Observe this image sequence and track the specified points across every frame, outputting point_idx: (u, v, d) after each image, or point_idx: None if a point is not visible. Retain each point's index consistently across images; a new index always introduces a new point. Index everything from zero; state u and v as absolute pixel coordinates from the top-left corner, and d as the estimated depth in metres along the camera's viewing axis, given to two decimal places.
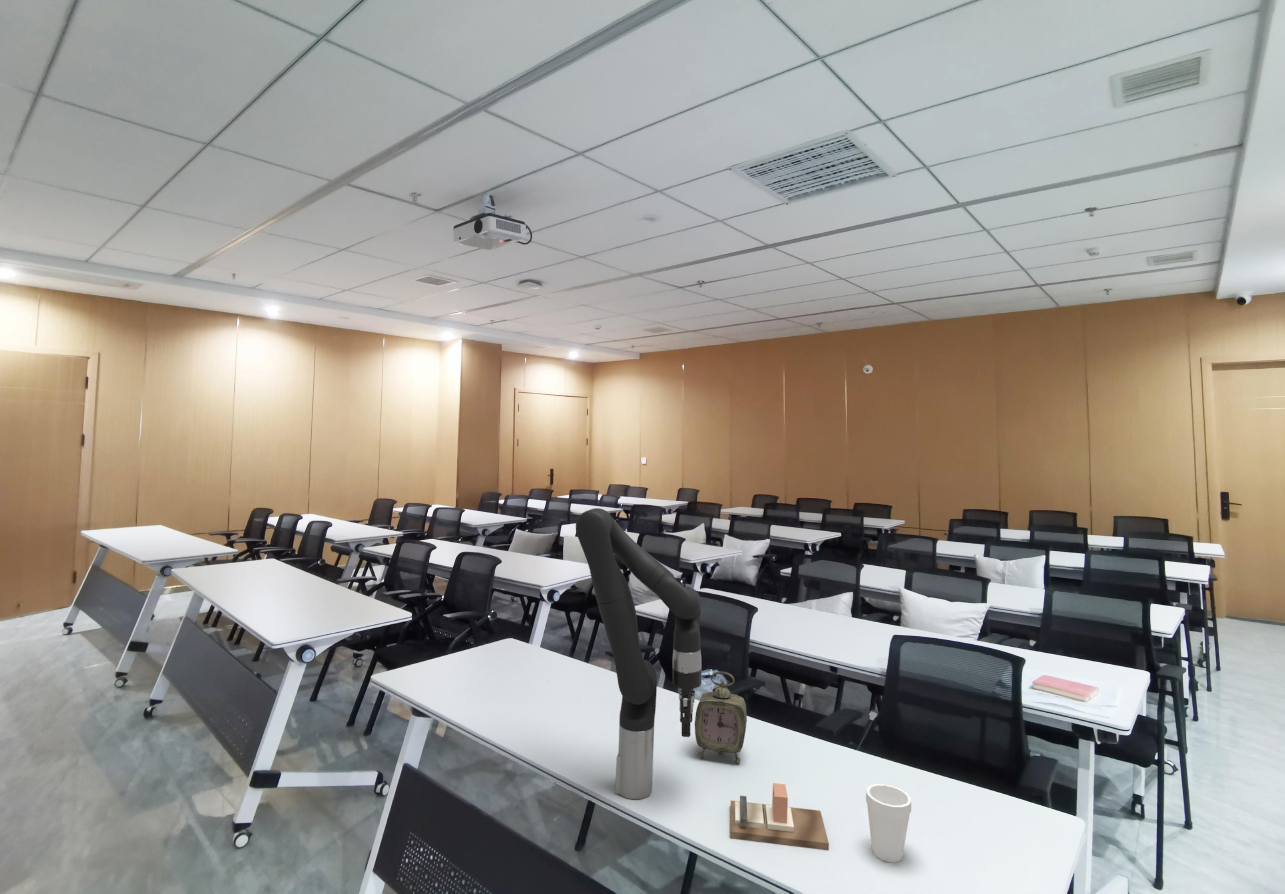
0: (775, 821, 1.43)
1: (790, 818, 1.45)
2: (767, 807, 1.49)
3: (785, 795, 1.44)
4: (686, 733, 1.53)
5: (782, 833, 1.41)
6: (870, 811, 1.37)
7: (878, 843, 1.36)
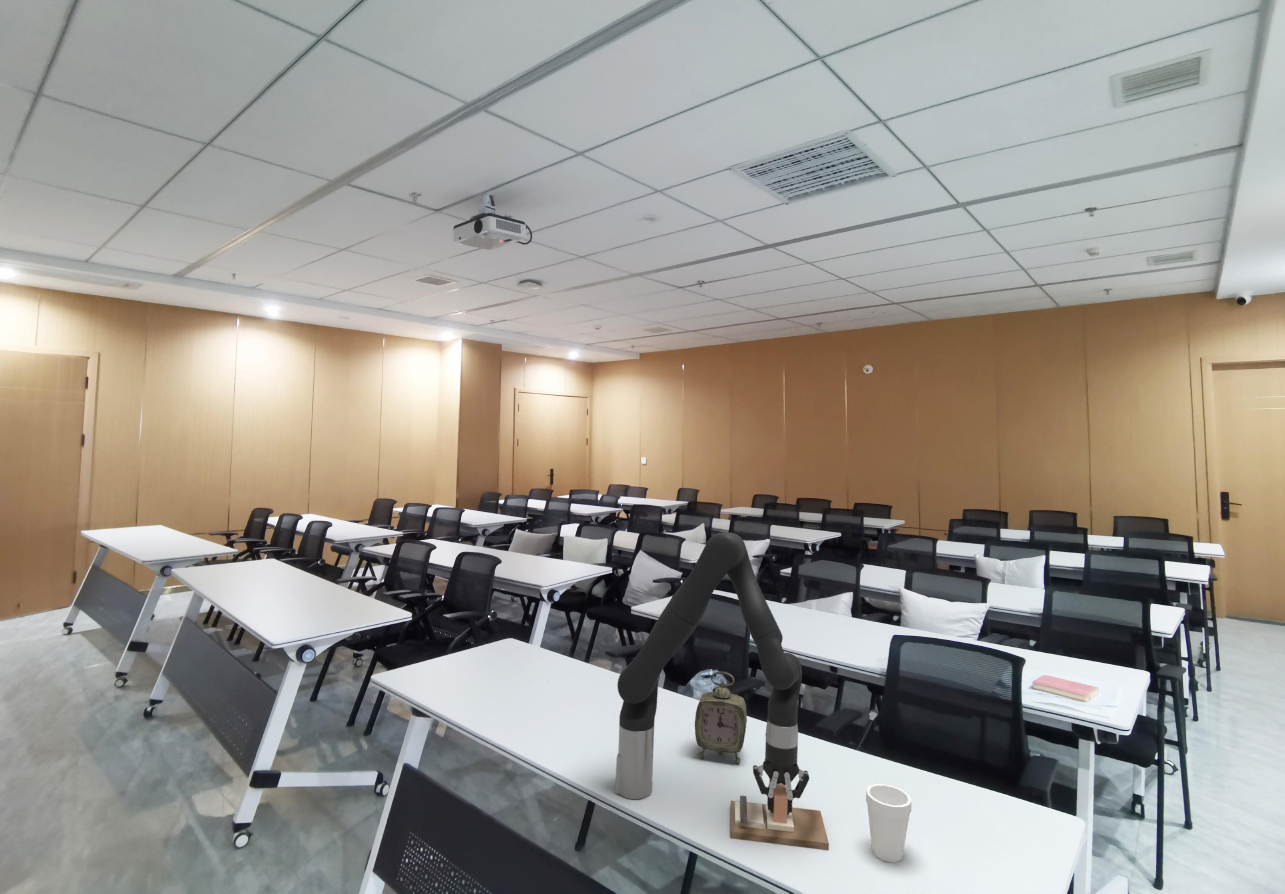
0: (775, 821, 1.43)
1: (790, 818, 1.45)
2: (767, 807, 1.49)
3: (785, 795, 1.44)
4: None
5: (782, 833, 1.41)
6: (870, 811, 1.37)
7: (878, 843, 1.36)
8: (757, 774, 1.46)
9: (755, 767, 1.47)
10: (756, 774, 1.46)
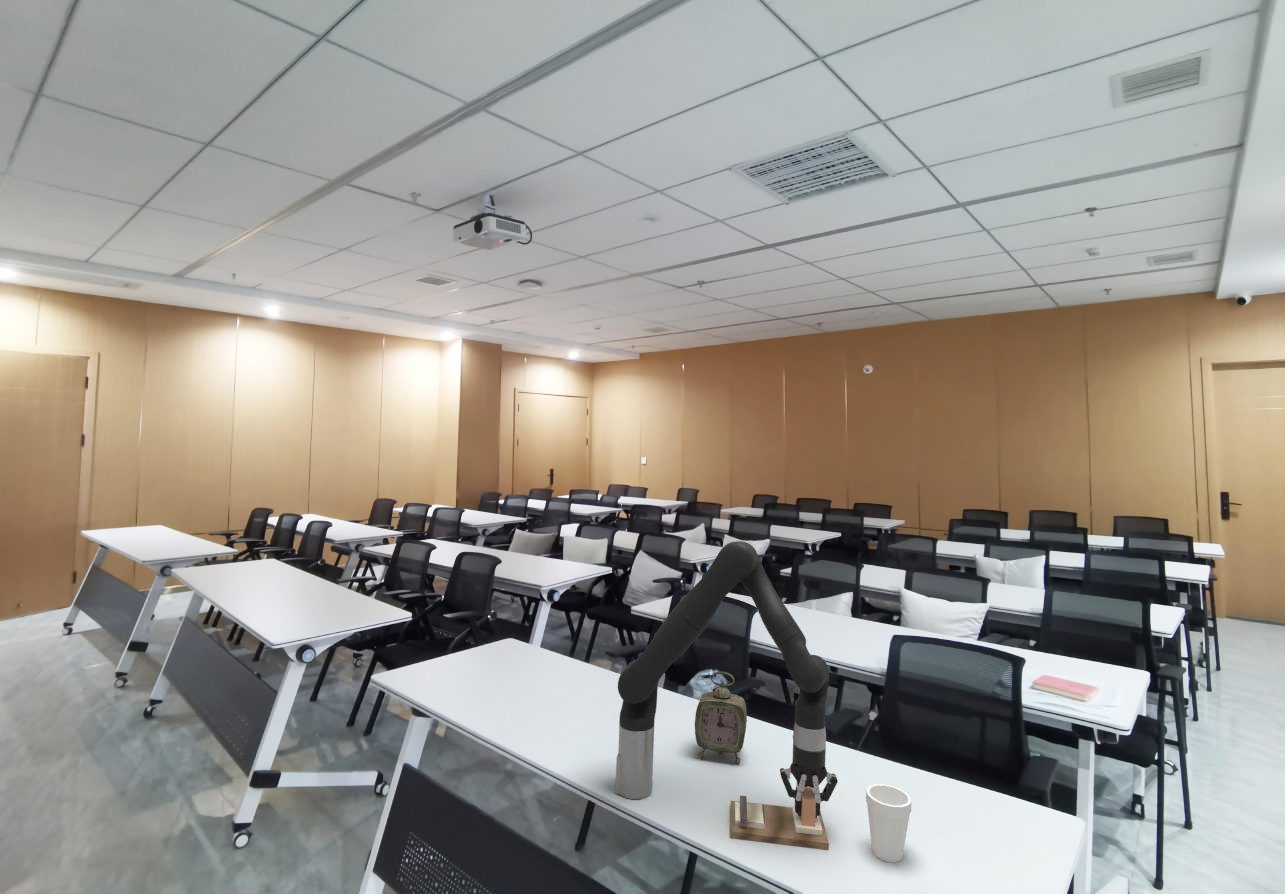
0: (803, 824, 1.42)
1: (818, 821, 1.44)
2: (794, 810, 1.48)
3: (813, 798, 1.43)
4: None
5: (782, 833, 1.41)
6: (870, 811, 1.37)
7: (878, 843, 1.36)
8: (785, 777, 1.45)
9: (782, 770, 1.46)
10: (784, 777, 1.45)
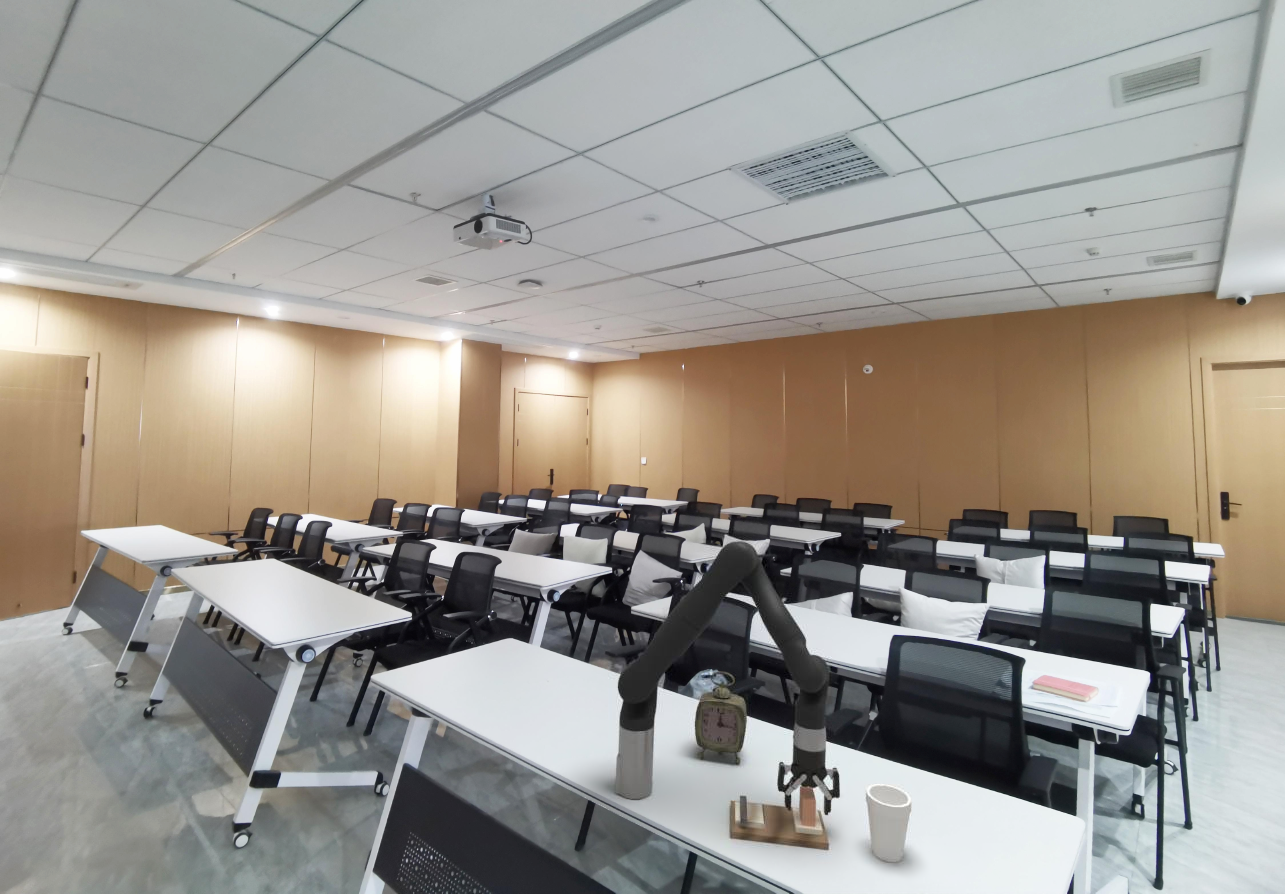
0: (803, 824, 1.42)
1: (818, 821, 1.44)
2: (794, 810, 1.48)
3: (813, 798, 1.43)
4: None
5: (782, 833, 1.41)
6: (870, 811, 1.37)
7: (878, 843, 1.36)
8: (783, 771, 1.45)
9: (783, 764, 1.46)
10: (782, 771, 1.45)
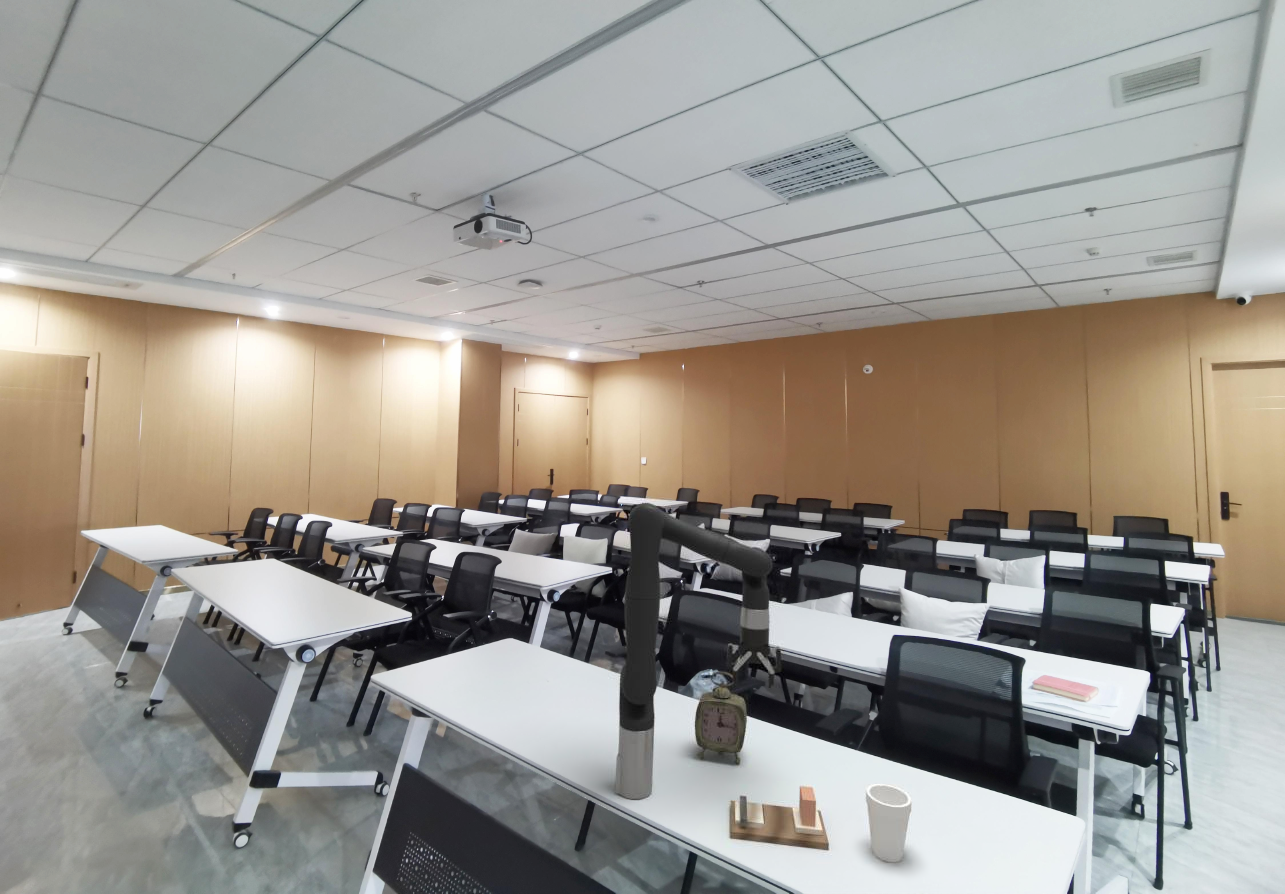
0: (803, 824, 1.42)
1: (818, 821, 1.44)
2: (794, 810, 1.48)
3: (813, 798, 1.43)
4: None
5: (782, 833, 1.41)
6: (870, 811, 1.37)
7: (878, 843, 1.36)
8: (731, 650, 1.61)
9: (731, 644, 1.62)
10: (730, 649, 1.61)
